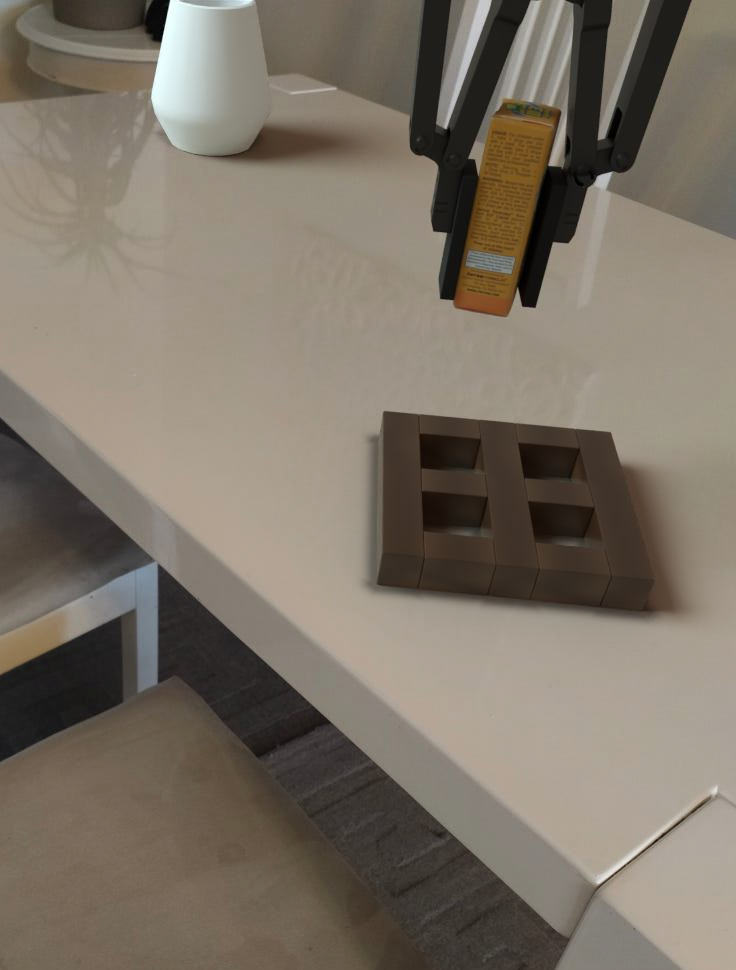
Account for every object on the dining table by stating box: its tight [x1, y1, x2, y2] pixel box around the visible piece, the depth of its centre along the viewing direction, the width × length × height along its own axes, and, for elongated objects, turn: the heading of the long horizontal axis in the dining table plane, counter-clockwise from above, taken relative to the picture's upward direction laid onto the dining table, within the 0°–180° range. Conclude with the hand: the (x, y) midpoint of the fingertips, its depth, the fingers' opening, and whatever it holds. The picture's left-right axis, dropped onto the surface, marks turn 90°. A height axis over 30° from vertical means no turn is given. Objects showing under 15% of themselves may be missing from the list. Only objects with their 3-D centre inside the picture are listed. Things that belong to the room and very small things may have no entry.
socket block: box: [375, 410, 656, 612], centre depth 61 cm, size 15×15×3 cm
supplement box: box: [452, 97, 562, 318], centre depth 52 cm, size 3×3×10 cm
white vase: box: [150, 0, 273, 157], centre depth 106 cm, size 13×13×14 cm
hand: (486, 292), depth 55 cm, fingers closed on supplement box, 4 cm apart
